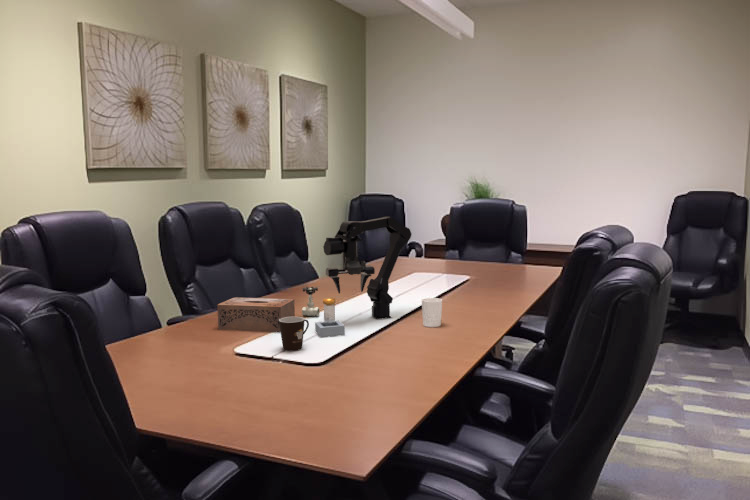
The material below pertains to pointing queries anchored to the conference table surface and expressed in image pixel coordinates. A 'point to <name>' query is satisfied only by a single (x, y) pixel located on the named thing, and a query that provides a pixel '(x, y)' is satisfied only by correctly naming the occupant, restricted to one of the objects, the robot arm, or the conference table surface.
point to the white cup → (431, 312)
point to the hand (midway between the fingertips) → (350, 292)
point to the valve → (310, 303)
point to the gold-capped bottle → (329, 311)
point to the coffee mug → (292, 332)
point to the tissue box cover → (254, 314)
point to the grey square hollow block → (329, 329)
